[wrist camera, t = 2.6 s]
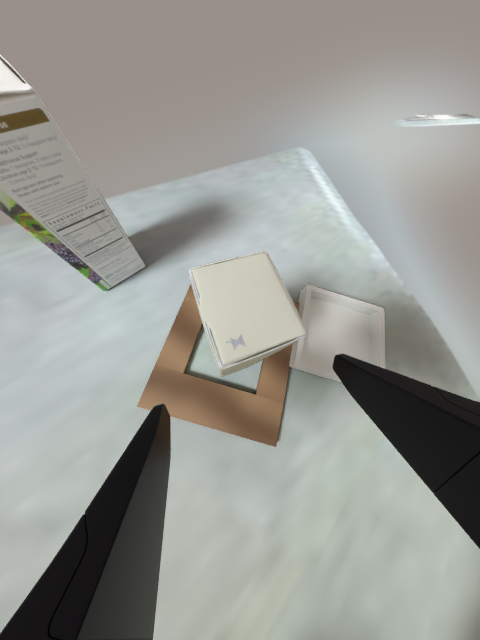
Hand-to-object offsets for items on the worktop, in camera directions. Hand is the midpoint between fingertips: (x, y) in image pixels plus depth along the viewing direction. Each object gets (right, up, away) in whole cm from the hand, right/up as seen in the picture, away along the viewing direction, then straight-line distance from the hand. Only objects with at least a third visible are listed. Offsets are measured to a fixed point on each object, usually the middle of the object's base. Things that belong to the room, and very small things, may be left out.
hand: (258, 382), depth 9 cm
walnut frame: (-2, 0, +11) cm, 11 cm away
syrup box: (-17, +10, +13) cm, 24 cm away
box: (-2, 0, +11) cm, 11 cm away
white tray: (+11, +1, +13) cm, 17 cm away
